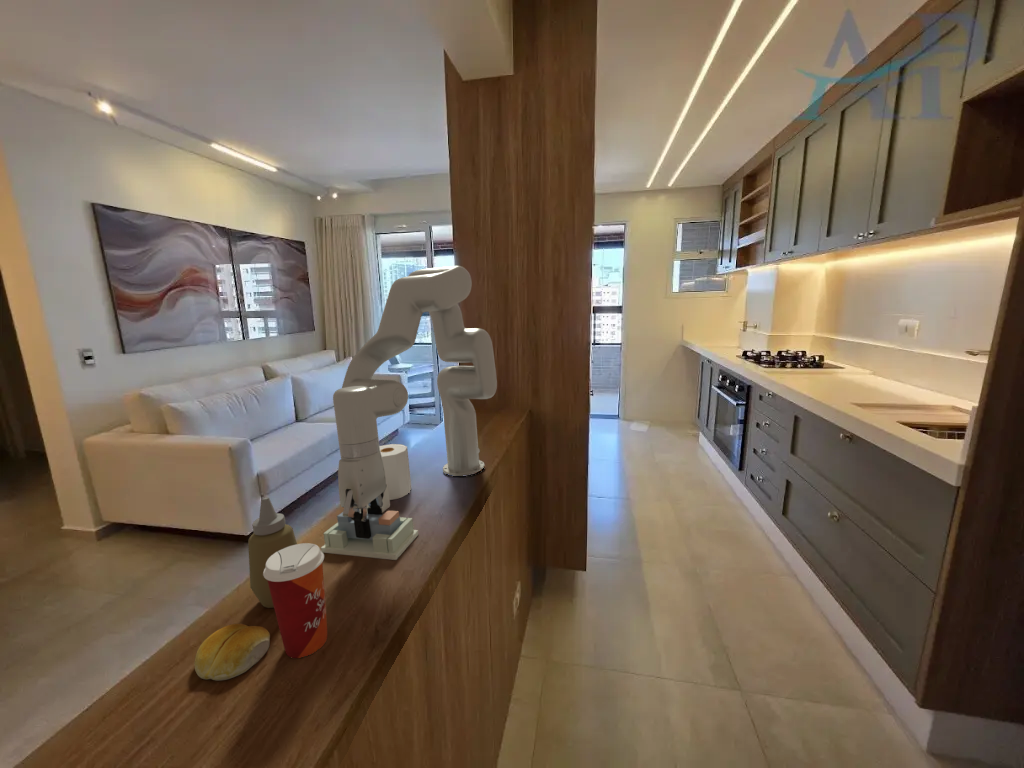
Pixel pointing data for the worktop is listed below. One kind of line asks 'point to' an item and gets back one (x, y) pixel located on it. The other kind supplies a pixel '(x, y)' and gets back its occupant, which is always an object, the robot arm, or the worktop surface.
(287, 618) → the paper cup
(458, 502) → the worktop surface
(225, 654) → the bread roll
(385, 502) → the block
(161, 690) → the worktop surface
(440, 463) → the worktop surface
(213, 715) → the worktop surface
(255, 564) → the squeeze bottle
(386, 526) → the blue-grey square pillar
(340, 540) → the jig
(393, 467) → the toilet paper
